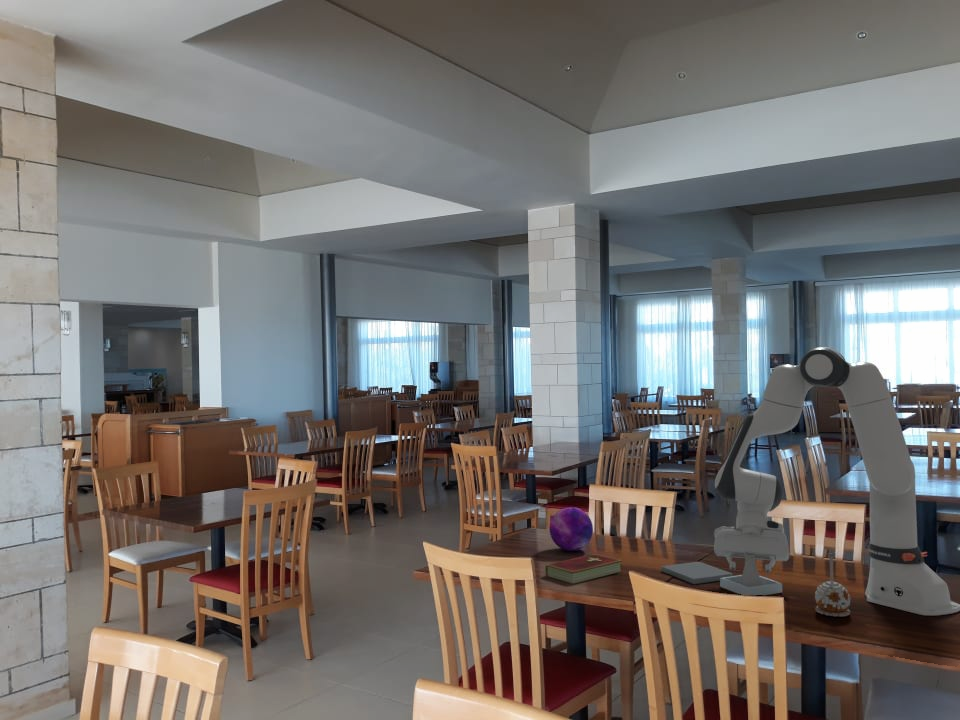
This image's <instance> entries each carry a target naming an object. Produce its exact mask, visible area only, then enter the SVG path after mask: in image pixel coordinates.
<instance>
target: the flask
mask: <svg viewBox="0 0 960 720" xmlns="http://www.w3.org/2000/svg"><path fill="white" fill-rule="evenodd" d="M744 556H745V558H744V567H743V571H742V574H741V575H742V576H741V579H740V582H739V584H741V585H744V586H747V587H754V586H761V585H763V584H762V582H761V579H760V577H759V576H760V574H759V572H758V568H757V565H756V564H757V563H756V559H755V556H756V554H754V553H744Z"/></svg>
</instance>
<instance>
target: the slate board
mask: <svg viewBox="0 0 960 720" xmlns="http://www.w3.org/2000/svg"><path fill="white" fill-rule="evenodd" d="M660 571H661V572H662V573H665V574H668V575H670V576H672V577H675V578H677V579H680V580H683V581H685V582H687V583H689V584H692V585H696V584H697V585H699V584H705V583H712V582H720V578H723V577H730V576H734V573H732V572H729V571H727V570H724V569H720V568H719V567H716V566H713V565H710V564H707V563H705V562H702V561H694V562H693V561H692V562H685V563H678V564H677V563H675V564H668V565H662V566H661V569H660Z"/></svg>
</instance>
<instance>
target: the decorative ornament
mask: <svg viewBox="0 0 960 720" xmlns="http://www.w3.org/2000/svg"><path fill="white" fill-rule="evenodd" d="M834 580H835V579H834V553H829V581H825V582H821V584H819V585H818V586H817V587H816V590H815V592H814V601H815V604H816V606H815V608H814V609H815V612H817V613H819V614H821V615H825V616H828V617H829V616H831V617H834V618H835V617H839V618H840V617H848V616H849V615H851V610H850V609H849V606H850V605H851V595H850V594H849V591H848V590H847V589H846V587H844V584H841V583H839V582H836V581H834Z"/></svg>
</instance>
